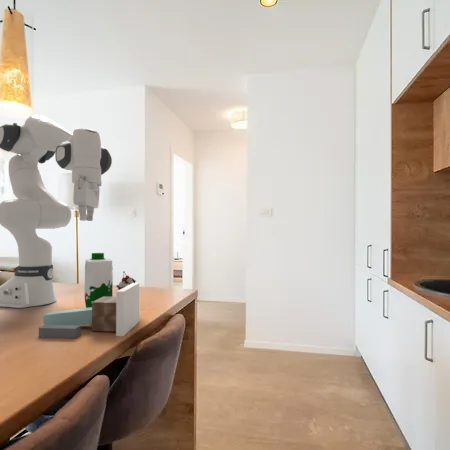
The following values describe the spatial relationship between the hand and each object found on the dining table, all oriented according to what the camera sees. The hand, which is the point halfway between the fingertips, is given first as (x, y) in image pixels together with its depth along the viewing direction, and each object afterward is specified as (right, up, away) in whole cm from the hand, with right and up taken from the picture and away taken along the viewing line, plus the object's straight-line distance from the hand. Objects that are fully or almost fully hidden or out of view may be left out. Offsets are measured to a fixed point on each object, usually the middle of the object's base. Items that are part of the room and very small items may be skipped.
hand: (86, 220), depth 115 cm
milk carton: (+2, -31, +5) cm, 32 cm away
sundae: (+13, -31, 0) cm, 34 cm away
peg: (+3, -30, -12) cm, 33 cm away
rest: (+1, -31, -20) cm, 37 cm away
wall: (+17, -31, -13) cm, 38 cm away
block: (+12, -31, -13) cm, 36 cm away
